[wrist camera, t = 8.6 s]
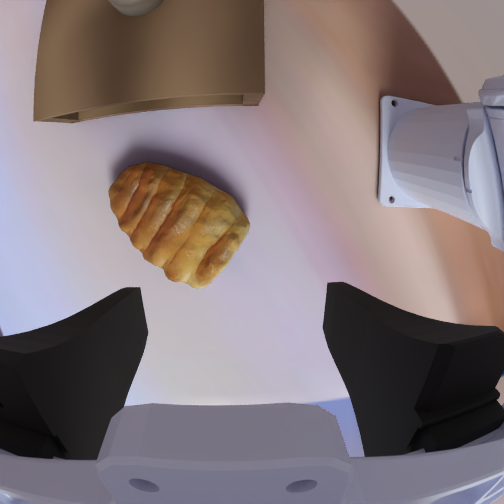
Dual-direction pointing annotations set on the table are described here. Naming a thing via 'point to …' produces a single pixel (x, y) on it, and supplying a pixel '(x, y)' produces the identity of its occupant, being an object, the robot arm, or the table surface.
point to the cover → (147, 57)
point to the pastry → (178, 221)
